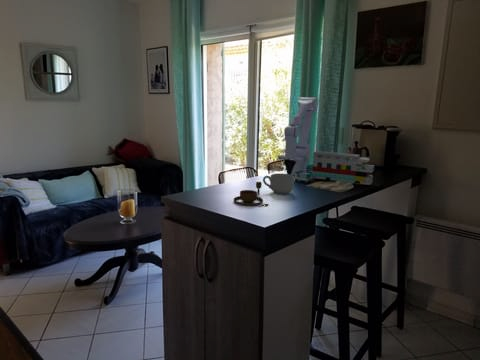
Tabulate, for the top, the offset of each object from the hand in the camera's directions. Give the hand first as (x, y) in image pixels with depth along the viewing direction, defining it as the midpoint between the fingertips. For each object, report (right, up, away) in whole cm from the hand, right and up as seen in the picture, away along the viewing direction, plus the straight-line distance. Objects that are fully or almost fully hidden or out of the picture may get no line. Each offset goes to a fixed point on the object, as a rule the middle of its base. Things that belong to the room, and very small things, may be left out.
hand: (289, 174), depth 189 cm
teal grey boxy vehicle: (+7, -4, -5) cm, 9 cm away
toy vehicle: (+27, -5, -2) cm, 28 cm away
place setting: (-20, -12, -43) cm, 49 cm away
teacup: (-9, -9, -29) cm, 32 cm away
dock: (+18, -7, -14) cm, 24 cm away
